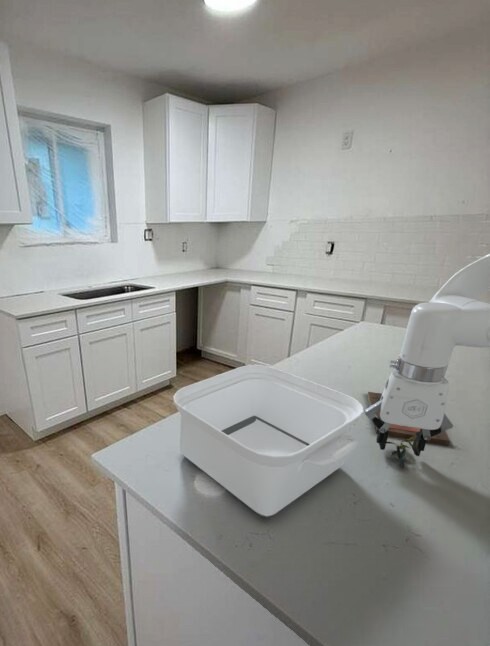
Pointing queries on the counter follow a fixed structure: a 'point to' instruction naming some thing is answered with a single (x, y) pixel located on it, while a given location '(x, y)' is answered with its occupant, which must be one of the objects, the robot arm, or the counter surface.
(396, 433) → the board
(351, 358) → the counter surface
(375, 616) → the counter surface
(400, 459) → the dark green branching piece
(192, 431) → the white storage bin
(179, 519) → the counter surface
